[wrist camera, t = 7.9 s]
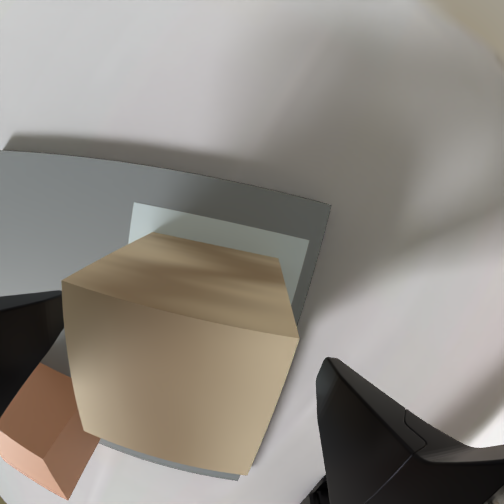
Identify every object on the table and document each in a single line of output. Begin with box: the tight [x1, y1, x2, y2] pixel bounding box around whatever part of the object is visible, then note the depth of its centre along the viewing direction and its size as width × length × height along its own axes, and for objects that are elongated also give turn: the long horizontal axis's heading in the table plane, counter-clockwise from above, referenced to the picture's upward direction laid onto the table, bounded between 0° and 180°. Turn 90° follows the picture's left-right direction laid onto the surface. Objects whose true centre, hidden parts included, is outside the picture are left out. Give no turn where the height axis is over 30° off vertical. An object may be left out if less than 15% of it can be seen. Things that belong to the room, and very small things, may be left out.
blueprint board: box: [0, 150, 331, 481], centre depth 13 cm, size 18×18×1 cm
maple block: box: [61, 232, 300, 475], centre depth 9 cm, size 5×5×6 cm
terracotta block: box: [0, 363, 101, 500], centre depth 11 cm, size 5×5×6 cm
